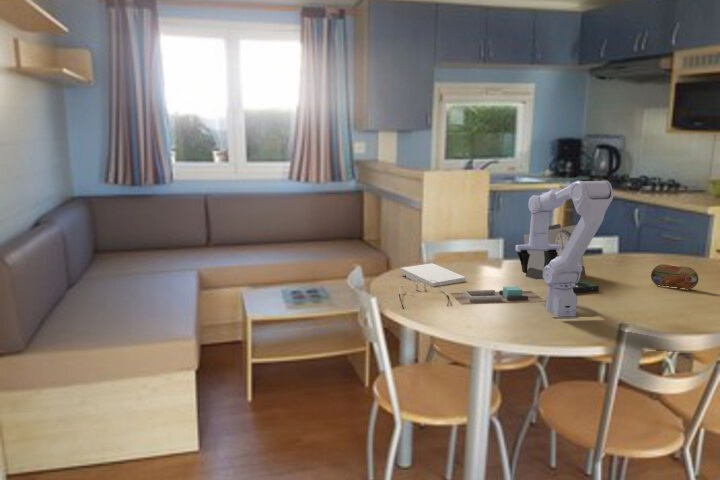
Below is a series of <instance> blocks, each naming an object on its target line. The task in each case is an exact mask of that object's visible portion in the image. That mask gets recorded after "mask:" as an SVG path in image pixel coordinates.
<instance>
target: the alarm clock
mask: <svg viewBox="0 0 720 480" xmlns="http://www.w3.org/2000/svg"><path fill="white" fill-rule="evenodd" d="M576 226H577V224H574V225H569V226H563V227H562V226H561V224H560V223H557V224H551V225H550V224H549V228H548V240H547V244H557V245H560V249H559V251H556V252H558V255H557V257H559V256H560V255H561V253H562V252H563V250H564V248H565V246H566V244H567V242H568V241H569V239H570V237H571V235H572V233H573V231H574V229H575V228H576ZM529 236H530V233H527V234H523V241H524V244H529ZM527 252H528V254H530V257H529V261H528V269H527V273H525V277H527V278H530V279H534V280H543V281H544V279H543V270H544V261H545V258H544V251H527ZM583 256H584V255H583ZM583 256H582V257H581V259H580V261H579V262H580V264H581V266H582V269H583V270H582V271H581V274H580V278H583V277H586V276H587V275H586V274H587V273H586V268H585V263H584V257H583ZM557 257H556V258H557Z"/></svg>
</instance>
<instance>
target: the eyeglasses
mask: <svg viewBox="0 0 720 480" xmlns="http://www.w3.org/2000/svg"><path fill="white" fill-rule="evenodd" d="M406 281H412V282H414V281H413V280H411V279H409V278H408V279H406V280H405V282H406ZM430 281H432V280H430ZM433 281H435V280H433ZM405 282H403V283H402V284H400V285H399V288H402V289H404V284H405ZM428 282H429V281H428ZM436 282H437V281H436ZM420 283H422V284H423V290H424V291H427V287H426V286H427V285H428V284H427V283H426V284H425V283H423V282H414V284H415V289H414V290H415V291H417V290H418V289H419V284H420ZM437 283H438V282H437ZM440 289H442V291H443V292H444V293H445V295H446V297H447V298H448V299H447V300H448V301H447V304H446V307H449V304H450V296H449V294H447V291H445V289H444V287H443V286H442V285H439V286H438V290H437V292H439V290H440ZM398 293H399V294H398V297H399V301H400V303H401V307H402V309H404V310H405V307H404V305H403V302H402V299H401V290H399V291H398ZM405 293H408V292H406V291H405ZM412 293H414V292H411V294H412Z"/></svg>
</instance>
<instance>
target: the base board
mask: <svg viewBox="0 0 720 480" xmlns="http://www.w3.org/2000/svg"><path fill="white" fill-rule="evenodd" d="M450 295H451V296H452V297H453V298H454V299H455V300H456V301H457V302H458V303H459V304H461V305H462V306H463V305H488V304H490V305H492V304H495V305H496V304H524V303H525V304H528V303H529V304H531V303H546V301H547V300H545V299H543V298H542V297H541V296H539V295H538V294H537V293H535V292H534V291H532V290H522V296H528V300H512V301H508V300H507V298H505V297H504V296H503V295H501V296H502V301H477V302H469V301H468V300H467V299H466V298H465V297H464V296H463V295H462V292H450ZM499 295H500V294H499V291H495V295H475V296H499ZM461 305H460V306H461Z"/></svg>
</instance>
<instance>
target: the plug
mask: <svg viewBox="0 0 720 480" xmlns="http://www.w3.org/2000/svg"><path fill="white" fill-rule="evenodd" d="M502 290H503V296H504V297H505V298H507V296H522V291H523V289H522V288H520V287H519V286H515V285H513V286H502Z"/></svg>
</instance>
